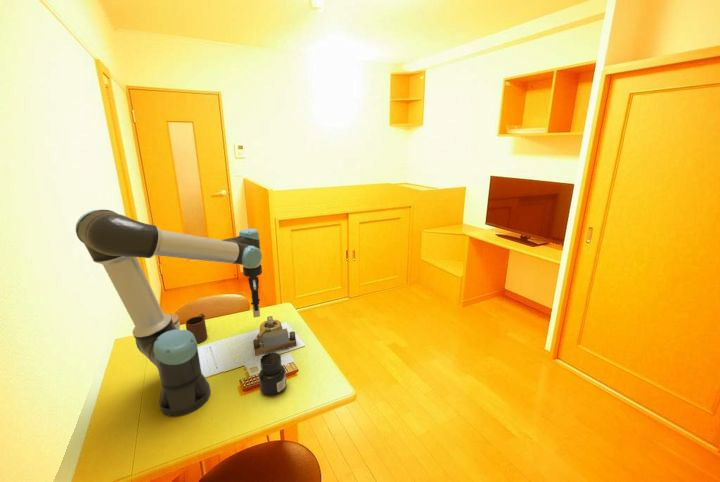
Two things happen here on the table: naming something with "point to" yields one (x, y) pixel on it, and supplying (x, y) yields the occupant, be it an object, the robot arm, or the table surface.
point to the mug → (197, 327)
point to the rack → (261, 350)
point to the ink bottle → (272, 375)
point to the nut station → (270, 322)
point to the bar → (275, 338)
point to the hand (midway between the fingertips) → (256, 316)
